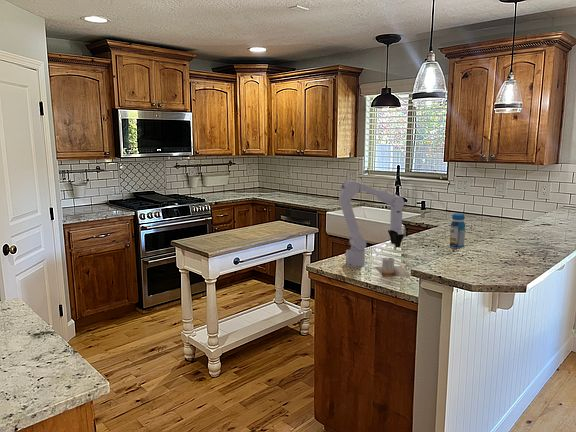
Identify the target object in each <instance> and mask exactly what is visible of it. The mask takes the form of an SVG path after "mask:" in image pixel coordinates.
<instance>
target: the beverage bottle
mask: <svg viewBox="0 0 576 432" xmlns="http://www.w3.org/2000/svg"><path fill="white" fill-rule="evenodd" d="M465 215H466V214H464V213H459V212H457V213H452V214H451V220H452V221H451V223H450V225H449V226H450V229H449V232H450V234H449V235H450V236H449V237H450V238H449V248H451V249H454V248H462V247H464V248H465V237H466V224H465V217H466V216H465Z"/></svg>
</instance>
